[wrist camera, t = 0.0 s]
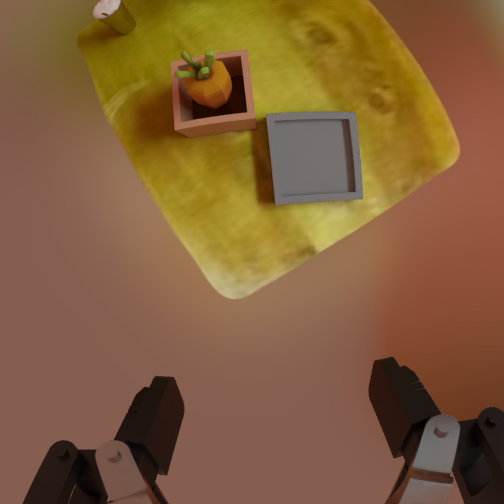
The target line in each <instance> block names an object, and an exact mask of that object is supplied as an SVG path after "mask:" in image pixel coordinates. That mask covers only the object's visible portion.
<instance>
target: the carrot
mask: <svg viewBox="0 0 504 504" xmlns="http://www.w3.org/2000/svg"><path fill="white" fill-rule="evenodd" d="M181 57H182V58H183V59H184V60H185V61H186V63H187V64H188V65H189V67H188V69H187V71H175V73H174V77H178V78H180V77H183V79H182V81H183V83H184V85H185V87H186V89H187V91H188V94H189V96H190V97H192V98H193V99H194V100H195V101H196V102H197V103H199V104H202V105H205V106H208V107H212V108H215V109H216V108H219V107H221V106H223V105H225V104H226V103H227V101H228V98H229V96H230V94H231V91H232V82H231V78H230V75H229V73H228V71H227V70H226V68H225V66H224V64H223V62H221V61H217V60H215V56H214V51H213V50H207V51H206V55H205V58H203V59H201V60H199V61H197V62H193V60H192V59H191V57H190V56H189V55H188V54H187V53H186V52H185V51H183V52H182V53H181Z"/></svg>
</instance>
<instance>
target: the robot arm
mask: <svg viewBox="0 0 504 504" xmlns="http://www.w3.org/2000/svg"><path fill="white" fill-rule="evenodd" d="M369 398H370V401H371V403H372V406H373V408H374V411H375V413H376V415H377V418H378V420H379V422H380V425H381V427H382V430H383V432H384V435H385V437H386V440H387V442H388V445H389V447H390V450H391V453H392V455H393V458H398V457H400V456H403V457H404V459H405V462H404V464H403V466H402V468H401V471H400V473H399V475H398V478H397V480H396V482H395V484H394V486H393V489H392V491H391V493H390V495H389V497H388V499H387V500H386V503H385V504H447V502H448V499H449V496H450V493H451V490H452V486H453V482H454V479H453V477H450V473H451V470H452V472H453V474H454V477H455V479H456V482H457V484H458V487H459V490H460V493H461V495H462V498H463V501H464V504H504V412H503V411H501V410H500V409H498V408H495V407H489V408H486V409H484V410H483V411H482V412H481V413H480V414H479V416H478V418H477V419H472V420H466V421H457V420H456V419H455V418H454V417H452V416H449V415H444V414H443V415H442V414H441V413H440V411H439V409H438V408H437V406H436V405H435V403H434V401H433V400H432V398H431V397H430V395H429V394H428V392H427V391H426V389H424V386H423V385H422V383H421V382H420V380H419V378H418V377H417V375H416V374H415V372H413V371H412V370H410V369H409V368H408V367H406V366H402V367H400V366H399V365H398V363H397V362H396V360H395V359H394V358H393V357H388V358H384V359H379V360H375V361H374V364H373V369H372V374H371V379H370V384H369ZM183 416H184V402H183V400H182V397H181V394H180V391H179V389H178V386H177V383H176V380H175V379H174V377H164V376H155V377H154V379H153V381H152V383H151V385H150V387H144V388H143V389H142V390H141V391H140V392H138V393H137V394H136V396H135V398H134V400H133V402H132V405H131V406H130V408H129V410H128V413H127V414H126V416H125V418H124V420H123V422H122V424H121V426H120V428H119V430H118V432H117V434H116V437H115V439H114V440H112V441H107V442H105V443H103V444H102V445H100V446H99V447H98V449H96V450H78V449H77V448H76V446H75V445H74V444H73V443H71V442H69V441H64V440H62V441H58V442H56V443H54V444H53V445H52V446H51V447H50V449H49V451H48V453H47V455H46V456H45V458H44V460H43V462H42V464H41V466H40V468H39V470H38V472H37V474H36V476H35V478H34V480H33V482H32V484H31V486H30V489H29V491H28V493H27V495H26V497H25V500H24V502H23V504H68V501H69V499H70V501H69V504H169V503H168V501H167V500H166V498H165V496H164V495H163V493H162V491H161V490H160V488H159V486H158V484H157V483H156V481H155V480H156V477H157V474H160V475H167V473H168V470H169V466H170V463H171V459H172V455H173V452H174V448H175V444H176V441H177V437H178V434H179V430H180V427H181V423H182V420H183ZM74 486H75V488H74ZM73 488H74V490H73ZM72 491H73V493H72ZM71 493H72V496H71ZM70 496H71V498H70ZM108 497H109V502H107V500H108Z"/></svg>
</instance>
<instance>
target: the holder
mask: <svg viewBox="0 0 504 504" xmlns="http://www.w3.org/2000/svg"><path fill="white" fill-rule="evenodd" d="M214 56H215V60H217V61H221V62H223V64H224V66H225V68H226V70H227V71H228V73H229V75H230V77H235V76H243V78H244V87H245V95H246V104H247V113H238V114H229V115H222V116H215V117H208V118H202V119H196V120H194V116H193V104H192V97H190V96H189V94H188V91H187V89H186V87H185V85H184V83H183V81H182V79H183V77H180V78H178V77H174V73H175V71H187V69H188V67H189V65H188V64H187V63H186V61H185V60H184V59H183V60H179V61H174V62H171V79H172V98H173V113H174V126H175V130H176V131H177V132H179V133H181V134H183V135H185V136H187V137H189V138H192V137H198V136H204V135H211V134H218V133H225V132H233V131H242V130H251V129H256V119H255V110H254V101H253V93H252V84H251V76H250V68H249V60H248V52H247V50H238V51H230V52H222V53H215V54H214ZM203 58H205V55H203V56H198V57H193V58H191V59H192V60H193V62H197V61H199V60H201V59H203Z"/></svg>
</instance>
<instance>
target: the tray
mask: <svg viewBox="0 0 504 504" xmlns="http://www.w3.org/2000/svg"><path fill="white" fill-rule="evenodd" d="M266 125H267V134H268V143H269V153H270V162H271V172H272V182H273V193H274V204H275V205H282V204H294V203H307V202H322V201H338V200H356V199H363V187H362V172H361V160H360V149H359V140H358V131H357V123H356V116H355V112H293V113H275V114H266Z"/></svg>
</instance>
